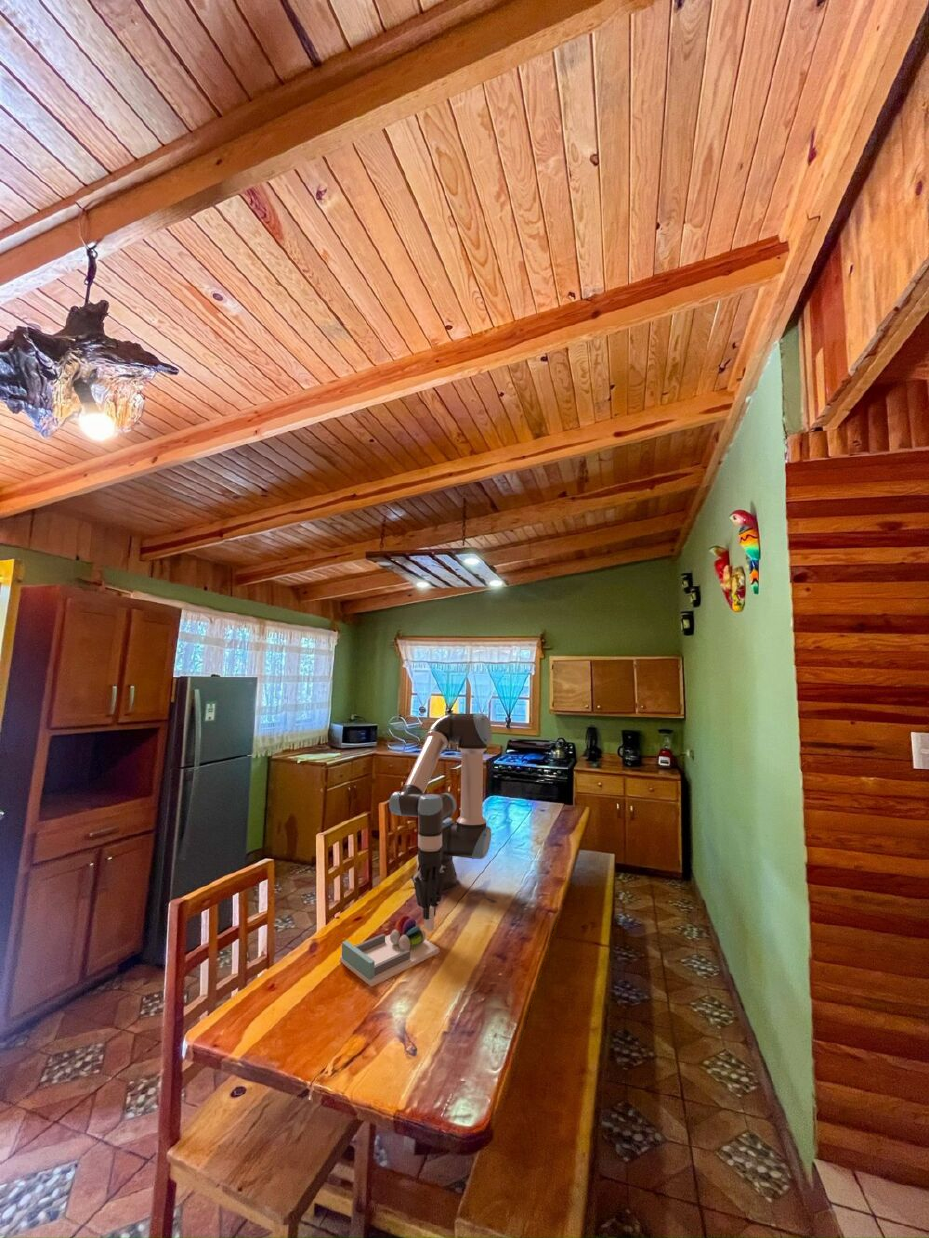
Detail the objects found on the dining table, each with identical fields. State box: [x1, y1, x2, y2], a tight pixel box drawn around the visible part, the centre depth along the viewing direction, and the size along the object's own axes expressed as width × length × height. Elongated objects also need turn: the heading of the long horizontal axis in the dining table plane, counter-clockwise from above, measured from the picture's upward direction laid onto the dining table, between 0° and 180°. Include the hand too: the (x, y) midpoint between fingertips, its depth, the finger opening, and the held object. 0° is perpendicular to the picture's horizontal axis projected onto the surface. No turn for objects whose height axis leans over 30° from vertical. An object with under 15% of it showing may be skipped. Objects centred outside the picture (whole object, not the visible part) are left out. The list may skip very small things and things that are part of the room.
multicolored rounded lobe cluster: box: [389, 915, 427, 951], centre depth 143 cm, size 8×10×7 cm
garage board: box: [339, 933, 440, 988], centre depth 138 cm, size 23×16×5 cm
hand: (429, 928), depth 148 cm, fingers closed
